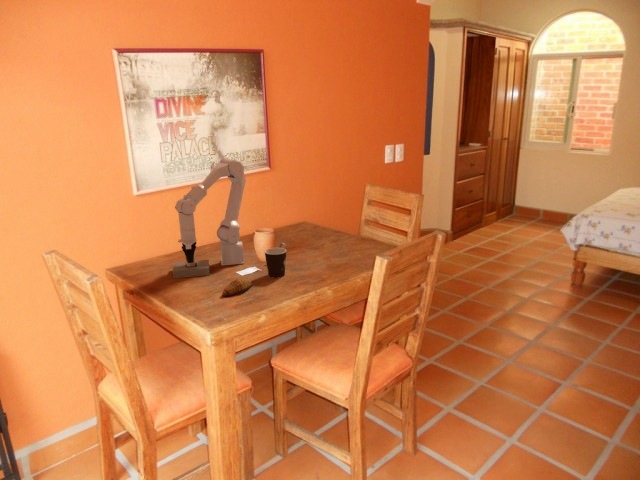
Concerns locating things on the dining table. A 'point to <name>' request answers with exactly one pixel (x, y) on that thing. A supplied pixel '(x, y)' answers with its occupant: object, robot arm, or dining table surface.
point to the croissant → (236, 287)
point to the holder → (191, 269)
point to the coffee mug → (276, 261)
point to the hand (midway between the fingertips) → (190, 261)
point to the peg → (190, 263)
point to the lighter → (282, 245)
